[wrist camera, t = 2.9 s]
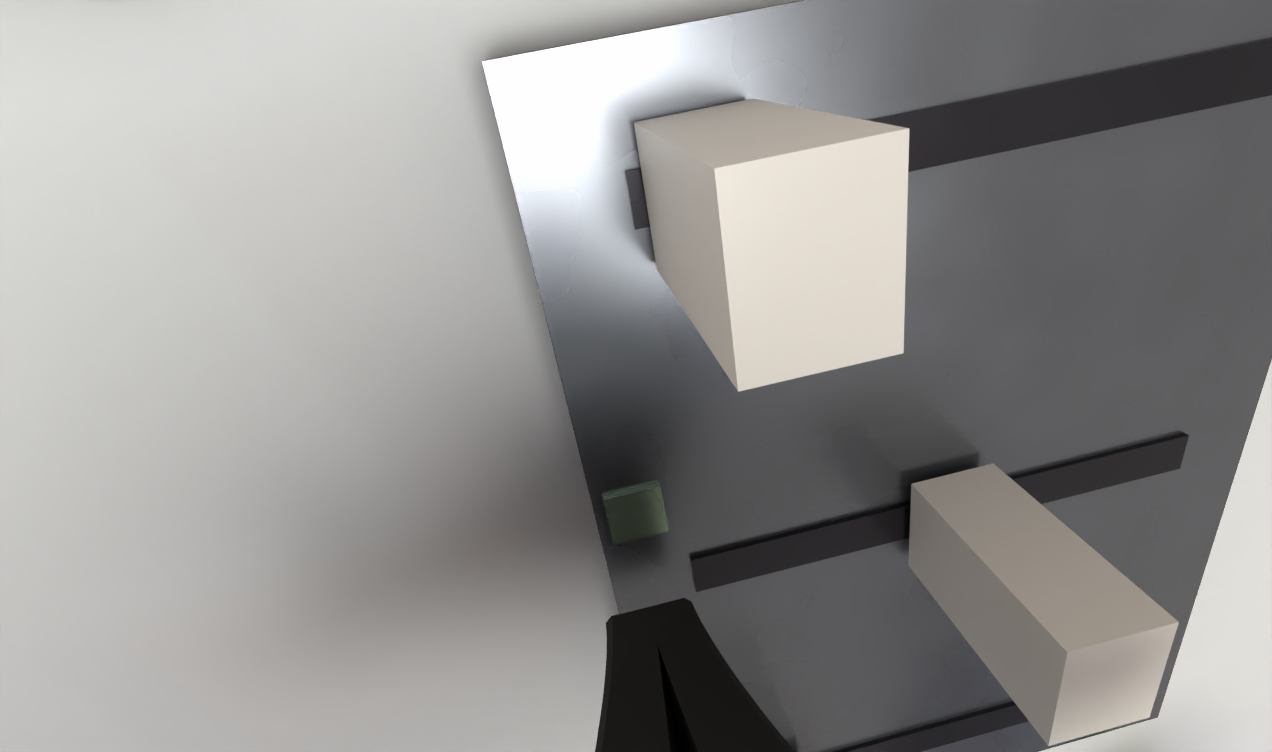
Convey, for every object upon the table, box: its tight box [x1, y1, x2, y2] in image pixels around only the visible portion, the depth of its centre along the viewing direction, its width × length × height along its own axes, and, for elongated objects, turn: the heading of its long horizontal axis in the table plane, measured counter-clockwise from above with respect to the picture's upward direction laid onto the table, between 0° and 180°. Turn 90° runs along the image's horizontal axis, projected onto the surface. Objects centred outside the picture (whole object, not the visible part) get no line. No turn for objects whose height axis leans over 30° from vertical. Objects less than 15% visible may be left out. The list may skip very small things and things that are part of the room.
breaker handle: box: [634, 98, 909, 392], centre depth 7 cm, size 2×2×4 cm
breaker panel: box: [482, 0, 1272, 752], centre depth 13 cm, size 13×18×2 cm
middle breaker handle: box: [908, 464, 1179, 746], centre depth 11 cm, size 2×2×4 cm
